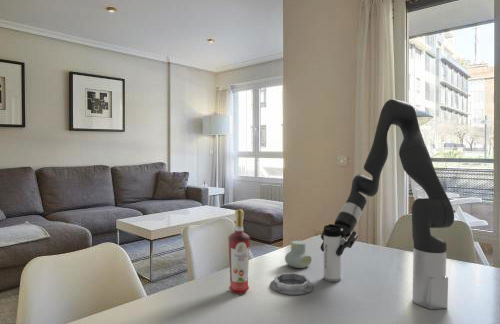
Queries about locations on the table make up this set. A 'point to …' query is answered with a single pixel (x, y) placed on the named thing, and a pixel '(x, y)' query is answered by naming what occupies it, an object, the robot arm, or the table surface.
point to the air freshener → (298, 255)
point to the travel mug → (332, 253)
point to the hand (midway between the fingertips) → (329, 252)
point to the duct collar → (291, 284)
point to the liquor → (239, 256)
